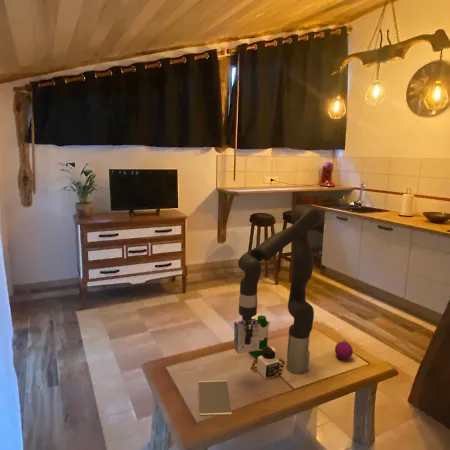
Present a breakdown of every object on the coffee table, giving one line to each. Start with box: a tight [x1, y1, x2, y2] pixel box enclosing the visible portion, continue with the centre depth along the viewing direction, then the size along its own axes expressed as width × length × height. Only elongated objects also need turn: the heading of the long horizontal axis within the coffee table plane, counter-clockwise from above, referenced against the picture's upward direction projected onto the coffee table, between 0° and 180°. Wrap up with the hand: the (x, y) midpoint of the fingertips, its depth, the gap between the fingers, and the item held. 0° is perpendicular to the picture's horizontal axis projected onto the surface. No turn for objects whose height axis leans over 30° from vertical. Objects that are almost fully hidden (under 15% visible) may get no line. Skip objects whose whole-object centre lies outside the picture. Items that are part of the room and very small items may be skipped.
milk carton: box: [248, 314, 271, 359], centre depth 179 cm, size 9×9×20 cm
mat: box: [198, 379, 232, 417], centre depth 148 cm, size 12×20×1 cm, turn 5°
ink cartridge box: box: [233, 316, 260, 354], centre depth 154 cm, size 10×6×14 cm, turn 109°
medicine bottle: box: [256, 345, 280, 380], centre depth 164 cm, size 7×7×12 cm
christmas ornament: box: [334, 339, 354, 360], centre depth 178 cm, size 8×8×10 cm
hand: (246, 339), depth 155 cm, fingers closed on ink cartridge box, 6 cm apart
